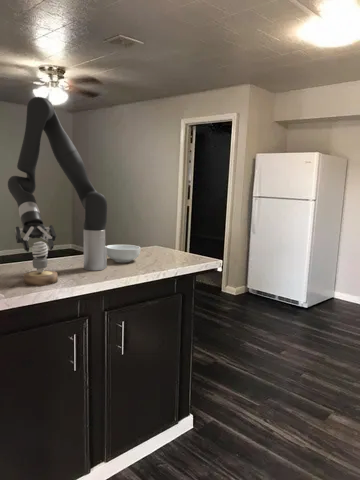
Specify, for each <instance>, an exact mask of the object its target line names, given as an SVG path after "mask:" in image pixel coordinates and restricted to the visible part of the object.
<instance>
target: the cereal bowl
mask: <svg viewBox="0 0 360 480" xmlns="http://www.w3.org/2000/svg"><path fill="white" fill-rule="evenodd" d="M105 246H106V247H107V258H109V259H110V260H113V261H114V262H116V263H131V262H132V261H134V260H135V259H137V258H139V256H140V254H141V246H139V245H134V244H108V245H105Z"/></svg>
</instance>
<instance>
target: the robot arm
mask: <svg viewBox="0 0 360 480" xmlns="http://www.w3.org/2000/svg"><path fill="white" fill-rule="evenodd" d="M26 106H27V107H26V120H25V130H24V134H23V140H22V144H21V147H20V152H19V156H18V159H17V160H18V161H17V164H16V168H17V170H18V171H20V172H23V173H24V174H26V177H24V176H18V175H13V176H11V177H9V178H8V180H7V188H8V191H9V193H10V195H11V196H12V198H13V199H14V201H16V203H17V204H16V205H17V207H18V213H19V214H18V215H19V219H20V221H21V224H22V227H19V226H16V227H15V230H14V233H15V234H14V235H15V240H16V243H17V244H22V246H23V250H24V251H25V252H27V253H28V252H29V251H30V245H29V242H28V241H29V240H30V239H40V238H41V239H43V240H44V241H46V242H47V246H48V250H49V251H52V250H53V249H54V246H55V244H54V241H56V238H57V233H56V231H55V229H54V226H53V225H51V224H50V225H49V226H46V225H44V221H43V218H42V214H41V212H40V209H39V206H38V204H37V199H36V197H35V196H34V194H33V193H35V191H36V187H37V185H36V183H37V182H36V170H37V169H36V168H37V164H38V160H39V156H40V150H41V140H42V134H43V132H44V133H45V135H46V137H47V141H48V143H49V145H50V148H51V151H52V153H53V155H54V158H55V160H56V162H57V163H58V165H59V167H60V169H62V172H63V173H64V174H65V176H66V178H67V179H68V180H69V182H70V184H71V185H72V186H73V188H74V190H75V192H76V194H77V196H78V198H79V200H80V203H81V205H82V208H83V209H84V222H83V270H87V271H102V270H105V269H106V268H107V267H108V266H107V265H108V262H107V261H108V260H107V259H108V256H107V247H106V246H107V245H106V225H107V220H108V201H107V197H105V195H104V194H102V193H101V192H99V191H97V190H96V189H95V187H94V185H93V183H92V182H91V180H90V178H89V176H88V173H87V170H86V165H85V163H84V161H83V158H82V156H81V154H80V153H79V151H78V149H77V147H76V145H74V142H73V141H72V140H71V138H70V136H69V135H68V133H67V132H66V131H65V128H63V126H62V124H61V121H60V119H59V116H58V115H57V112H56V110H55V107H54V104H53V103H52V102H51V101H50V100H49V99H47V98H45V97H42V96H35V97H32V98H30V99H29V101H28V102H27V105H26ZM22 233H23V234H25V235H24V236H23V237H22V236H21V234H22Z"/></svg>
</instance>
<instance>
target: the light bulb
mask: <svg viewBox="0 0 360 480" xmlns="http://www.w3.org/2000/svg"><path fill="white" fill-rule="evenodd" d="M31 248H32V249H31V251H32V252H31V253H32V257H33V259H32V267H33V268H34V269H36V271H37V272H38V273H42V272H43V271H44V269H46V268H48V264H49V263H48V262H49V261H48V258H47V257H48V253H49V246H48V244H47V243H46V242H44V241H37V242H33V245H32V246H31Z"/></svg>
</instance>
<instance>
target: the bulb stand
mask: <svg viewBox="0 0 360 480" xmlns="http://www.w3.org/2000/svg"><path fill="white" fill-rule="evenodd" d="M22 277H23V284H24V285H25V286H30V287H31V286H33V287H42V286H43V287H44V286H51V285H54V284H57V283H58V272H57V271H54V270H44V271H43V272H42V273H38V272H37V270H32V271H28V272H27V271H26V272H25V273H24V274H23V276H22Z"/></svg>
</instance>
